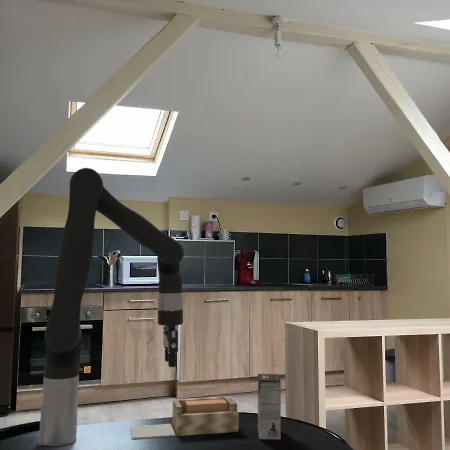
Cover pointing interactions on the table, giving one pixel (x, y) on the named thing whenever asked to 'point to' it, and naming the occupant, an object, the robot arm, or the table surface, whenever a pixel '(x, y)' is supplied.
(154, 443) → the table surface
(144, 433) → the mat
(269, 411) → the coffee box
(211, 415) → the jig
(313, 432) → the table surface
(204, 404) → the orange rectangular block
